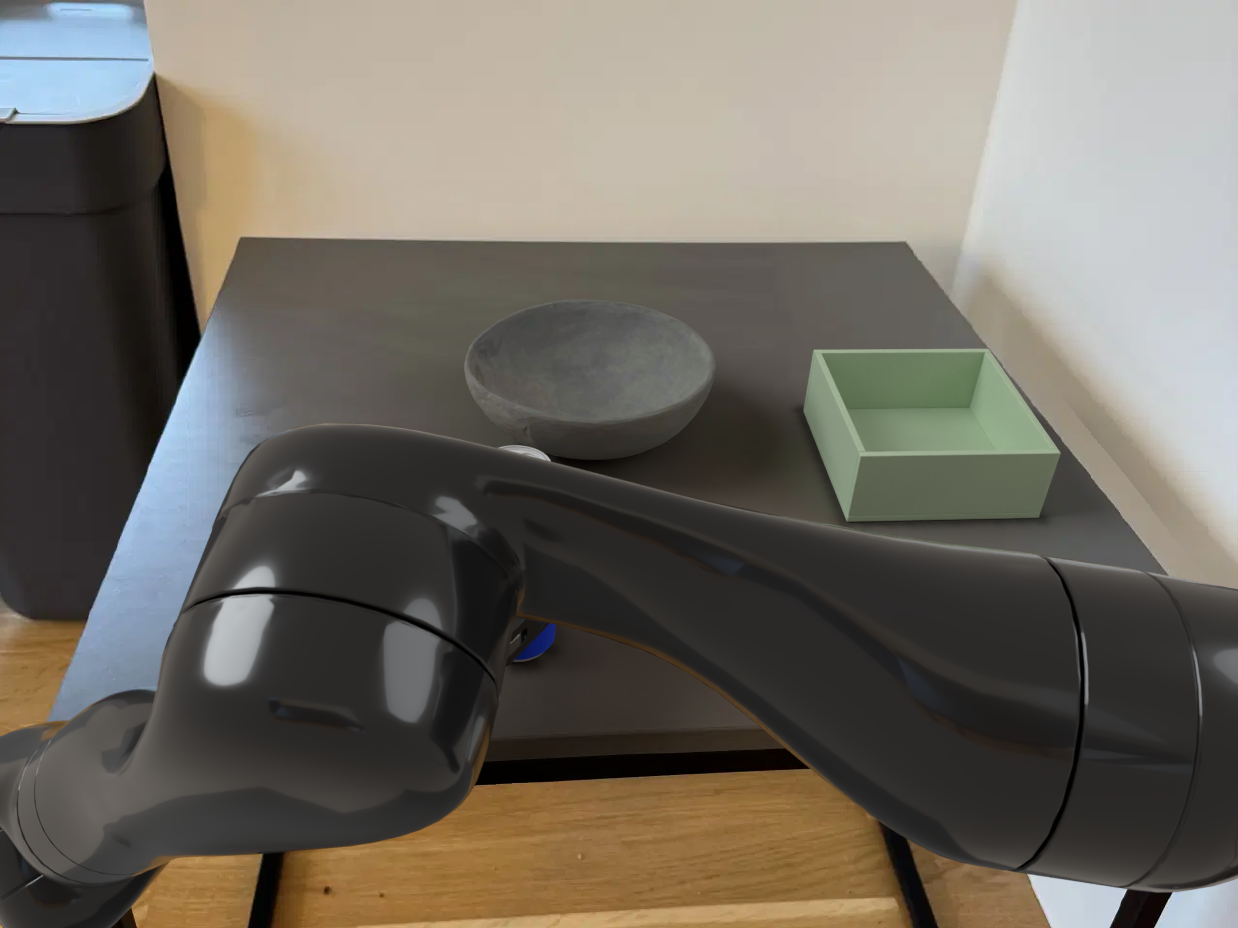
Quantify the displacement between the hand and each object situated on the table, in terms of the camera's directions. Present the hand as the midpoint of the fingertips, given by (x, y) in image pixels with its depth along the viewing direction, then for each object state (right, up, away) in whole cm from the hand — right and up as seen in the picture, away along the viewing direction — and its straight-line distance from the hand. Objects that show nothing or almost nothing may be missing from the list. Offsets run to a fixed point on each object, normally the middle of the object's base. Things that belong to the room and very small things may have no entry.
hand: (544, 523), depth 73 cm
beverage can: (-2, -8, +4) cm, 10 cm away
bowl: (+2, +7, +25) cm, 26 cm away
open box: (+31, +4, +23) cm, 39 cm away
